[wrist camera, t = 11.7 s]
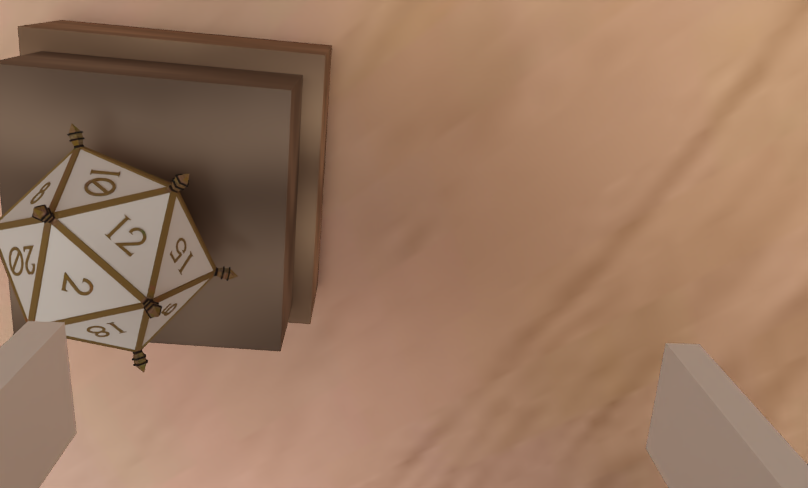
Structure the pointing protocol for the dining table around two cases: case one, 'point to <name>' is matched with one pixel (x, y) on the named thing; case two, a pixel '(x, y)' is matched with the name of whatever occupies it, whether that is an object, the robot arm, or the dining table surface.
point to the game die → (104, 251)
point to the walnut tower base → (189, 153)
